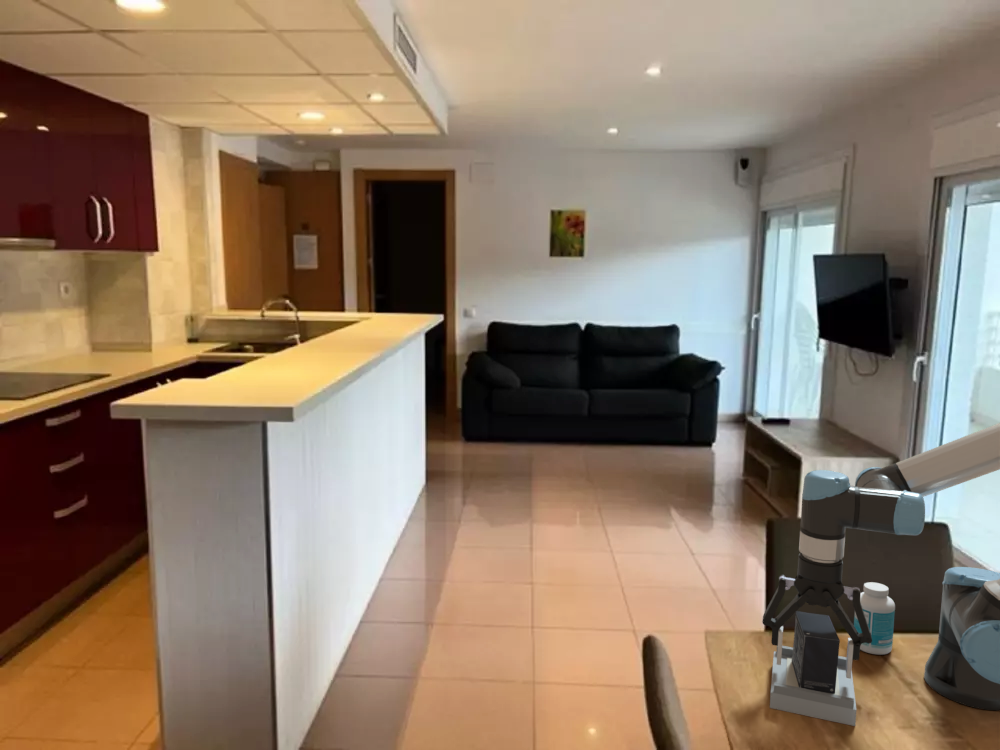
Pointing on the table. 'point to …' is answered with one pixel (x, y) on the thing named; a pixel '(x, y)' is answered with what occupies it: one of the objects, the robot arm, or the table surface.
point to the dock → (812, 693)
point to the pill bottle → (877, 618)
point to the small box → (815, 652)
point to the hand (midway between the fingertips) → (813, 668)
